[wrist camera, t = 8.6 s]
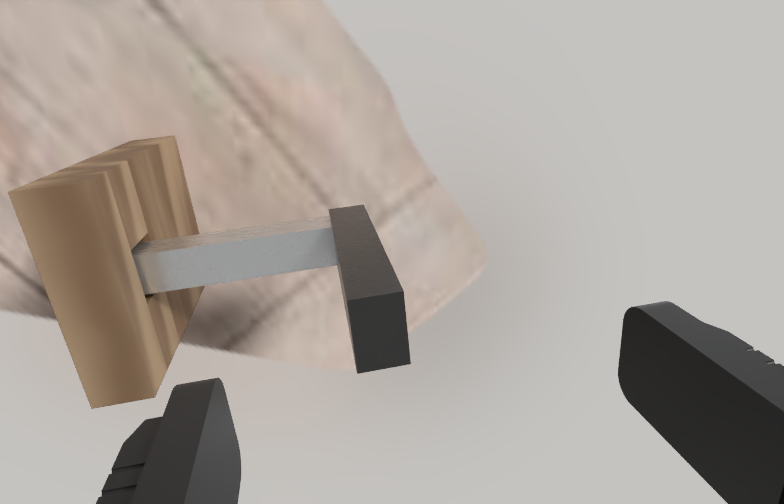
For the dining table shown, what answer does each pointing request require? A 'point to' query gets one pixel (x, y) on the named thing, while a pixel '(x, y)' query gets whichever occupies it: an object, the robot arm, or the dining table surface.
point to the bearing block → (111, 263)
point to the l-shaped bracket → (296, 253)
